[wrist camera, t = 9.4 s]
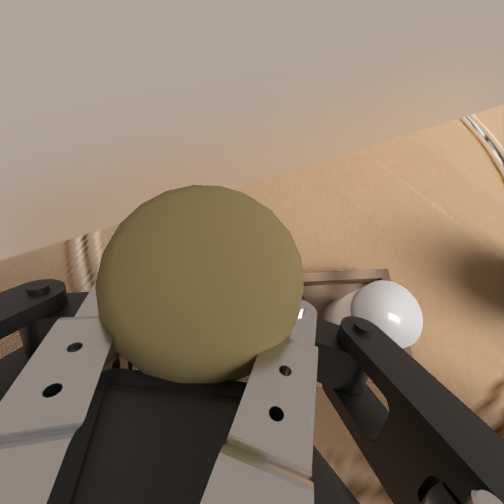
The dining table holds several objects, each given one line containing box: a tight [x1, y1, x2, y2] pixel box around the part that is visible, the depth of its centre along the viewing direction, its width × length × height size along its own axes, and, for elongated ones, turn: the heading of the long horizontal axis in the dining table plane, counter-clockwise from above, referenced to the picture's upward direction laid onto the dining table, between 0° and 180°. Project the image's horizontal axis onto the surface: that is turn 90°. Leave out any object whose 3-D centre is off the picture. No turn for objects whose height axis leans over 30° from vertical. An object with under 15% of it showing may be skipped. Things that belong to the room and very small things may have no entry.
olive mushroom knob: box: [95, 185, 304, 384], centre depth 10 cm, size 6×6×11 cm
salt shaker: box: [321, 280, 423, 348], centre depth 23 cm, size 5×5×9 cm
